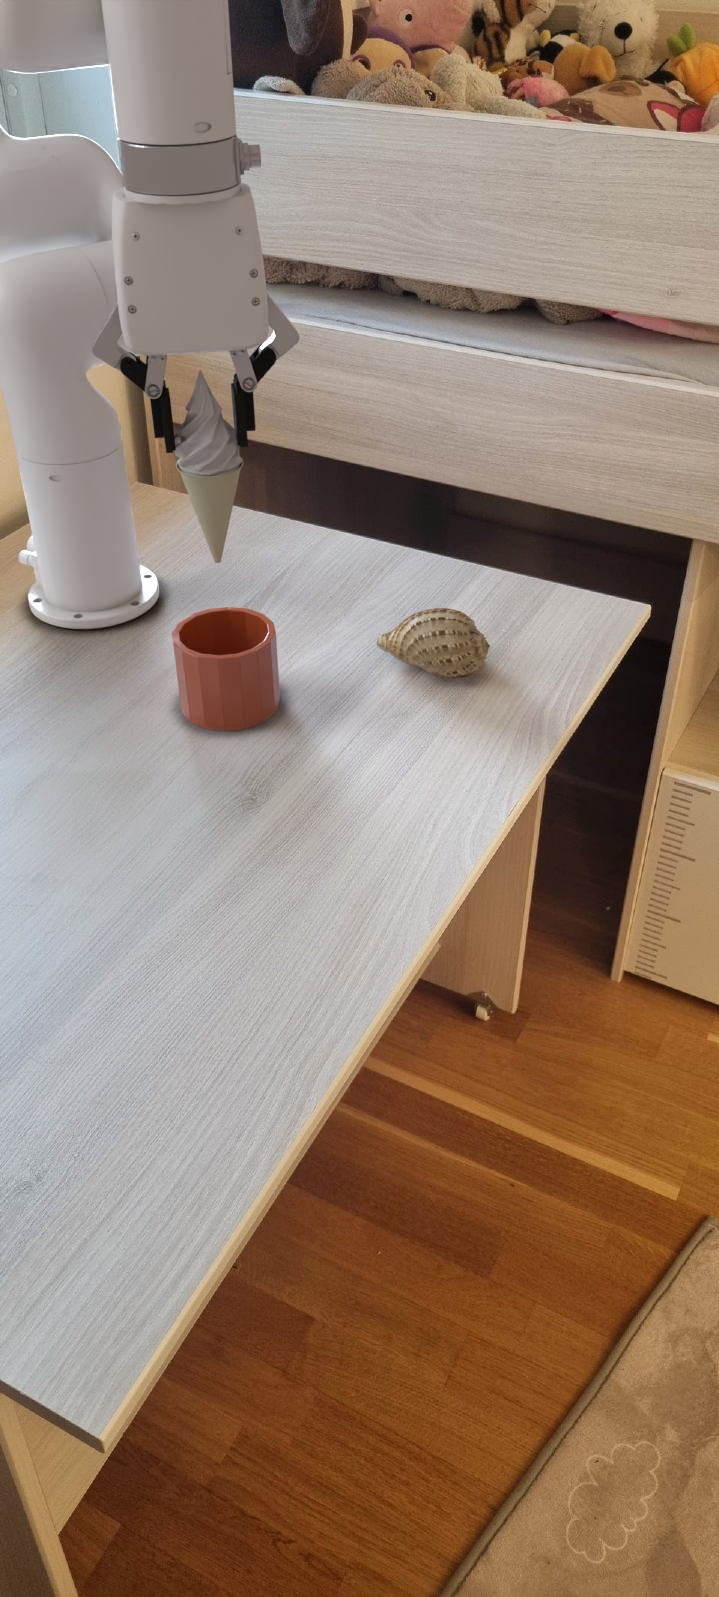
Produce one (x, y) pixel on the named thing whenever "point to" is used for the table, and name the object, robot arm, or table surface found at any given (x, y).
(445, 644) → the seashell
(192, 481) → the ice cream cone
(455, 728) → the table surface
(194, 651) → the cone holder
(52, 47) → the robot arm
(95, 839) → the table surface
